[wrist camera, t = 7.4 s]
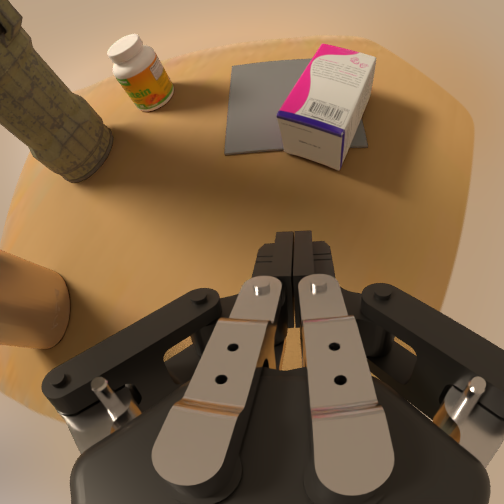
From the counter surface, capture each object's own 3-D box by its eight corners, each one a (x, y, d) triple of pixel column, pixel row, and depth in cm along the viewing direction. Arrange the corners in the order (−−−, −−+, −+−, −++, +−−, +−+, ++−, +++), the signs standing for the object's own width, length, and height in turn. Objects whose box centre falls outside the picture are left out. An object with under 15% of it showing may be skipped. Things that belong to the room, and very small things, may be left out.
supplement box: (339, 174, 27) (373, 94, 28) (342, 135, 21) (378, 54, 23) (282, 153, 28) (324, 79, 30) (273, 113, 23) (321, 39, 25)
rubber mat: (225, 155, 30) (224, 153, 29) (232, 67, 34) (232, 66, 33) (367, 147, 27) (368, 145, 27) (344, 59, 31) (344, 58, 31)
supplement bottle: (131, 115, 34) (93, 64, 25) (145, 86, 36) (113, 36, 27) (167, 110, 33) (132, 53, 24) (180, 80, 35) (151, 25, 25)
